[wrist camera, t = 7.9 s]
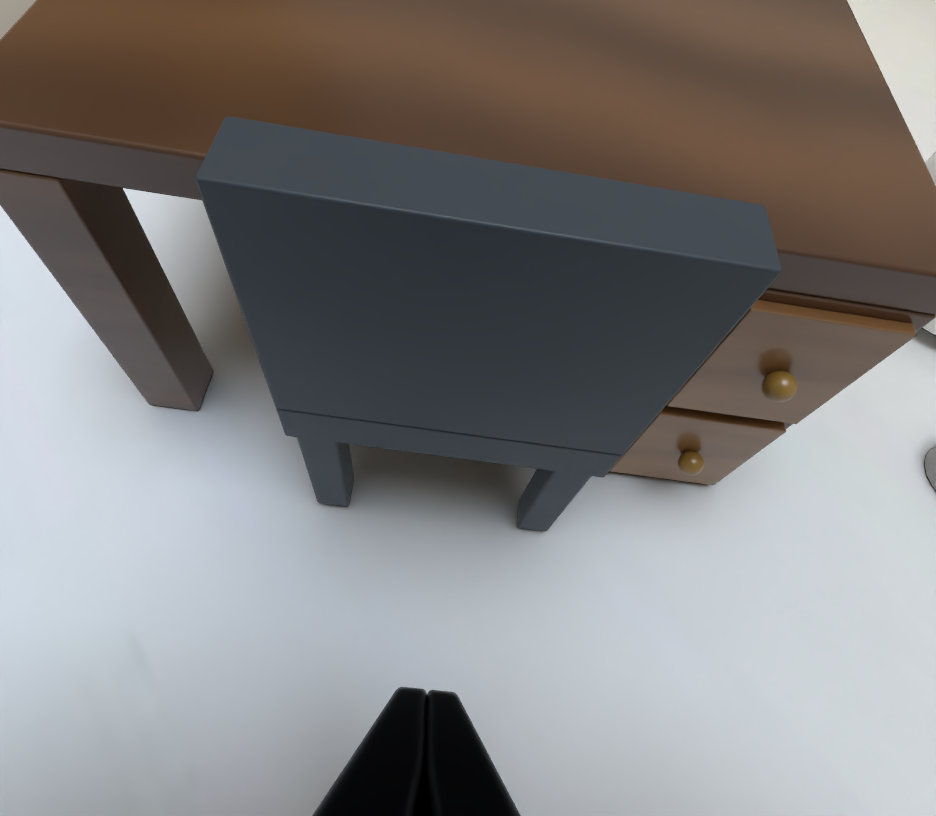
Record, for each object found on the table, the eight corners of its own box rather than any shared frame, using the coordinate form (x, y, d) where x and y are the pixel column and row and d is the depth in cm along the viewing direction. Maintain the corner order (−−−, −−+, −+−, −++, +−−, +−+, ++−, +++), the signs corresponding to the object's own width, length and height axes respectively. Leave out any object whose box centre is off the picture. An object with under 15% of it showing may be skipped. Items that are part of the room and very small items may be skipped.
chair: (552, 537, 17) (784, 271, 7) (310, 507, 16) (192, 177, 6) (554, 343, 20) (711, -15, 10) (356, 315, 20) (324, -89, 10)
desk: (721, 508, 18) (1005, 324, 10) (136, 433, 17) (-107, 150, 9) (681, 221, 24) (830, -37, 16) (256, 152, 23) (183, -164, 15)
